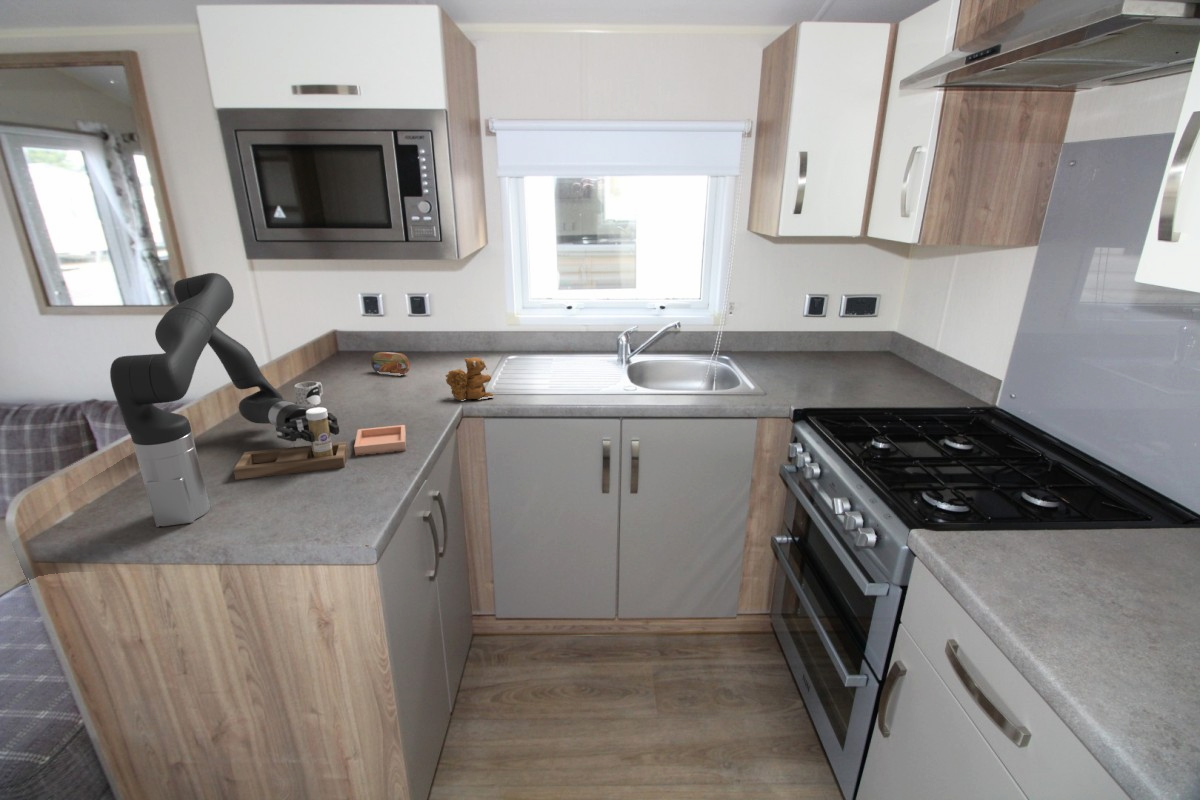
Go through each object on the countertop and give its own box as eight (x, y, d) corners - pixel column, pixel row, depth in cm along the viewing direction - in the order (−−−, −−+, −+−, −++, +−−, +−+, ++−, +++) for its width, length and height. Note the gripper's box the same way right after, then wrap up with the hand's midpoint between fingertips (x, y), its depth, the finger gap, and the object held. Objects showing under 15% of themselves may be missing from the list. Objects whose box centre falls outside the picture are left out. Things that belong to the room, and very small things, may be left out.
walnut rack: (344, 467, 136) (343, 457, 136) (235, 479, 130) (233, 469, 129) (348, 450, 145) (347, 441, 145) (246, 461, 139) (244, 452, 138)
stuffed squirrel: (496, 398, 185) (494, 359, 181) (454, 406, 178) (451, 365, 174) (485, 390, 193) (483, 352, 189) (444, 397, 186) (441, 358, 182)
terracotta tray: (405, 450, 146) (404, 441, 145) (355, 456, 142) (354, 446, 142) (405, 433, 157) (404, 424, 156) (359, 437, 153) (357, 429, 152)
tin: (372, 373, 210) (369, 351, 207) (377, 371, 213) (374, 349, 210) (407, 377, 206) (404, 355, 203) (412, 375, 209) (410, 353, 206)
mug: (311, 409, 174) (308, 388, 172) (292, 407, 175) (288, 386, 173) (332, 398, 183) (329, 379, 181) (314, 397, 184) (311, 377, 182)
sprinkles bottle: (322, 466, 137) (313, 414, 132) (310, 462, 139) (301, 410, 134) (338, 459, 140) (330, 408, 136) (326, 455, 142) (318, 405, 138)
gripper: (258, 412, 138) (292, 428, 129) (316, 397, 149) (351, 411, 140) (264, 440, 141) (297, 458, 131) (320, 423, 152) (355, 439, 142)
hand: (325, 434), depth 135 cm, fingers open, 5 cm apart
